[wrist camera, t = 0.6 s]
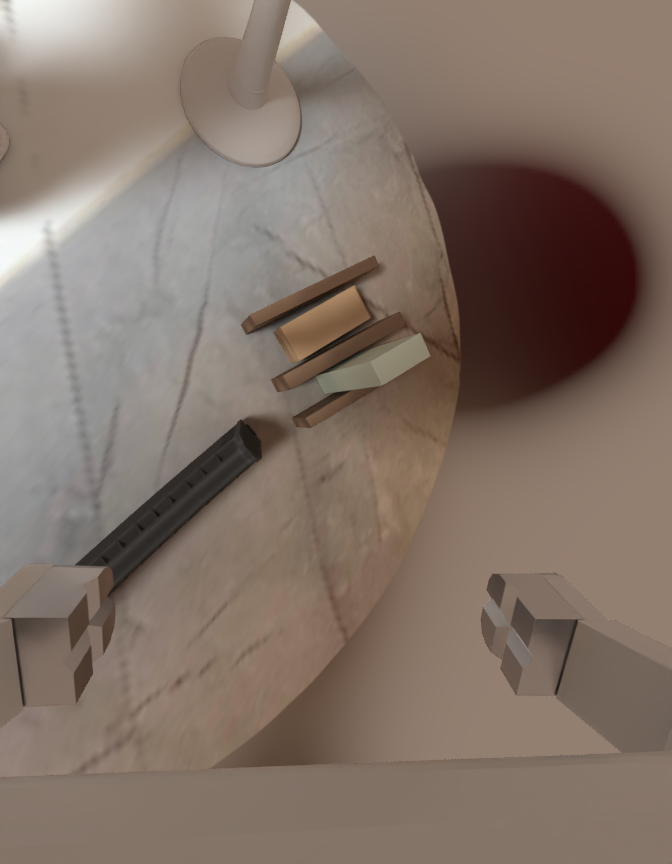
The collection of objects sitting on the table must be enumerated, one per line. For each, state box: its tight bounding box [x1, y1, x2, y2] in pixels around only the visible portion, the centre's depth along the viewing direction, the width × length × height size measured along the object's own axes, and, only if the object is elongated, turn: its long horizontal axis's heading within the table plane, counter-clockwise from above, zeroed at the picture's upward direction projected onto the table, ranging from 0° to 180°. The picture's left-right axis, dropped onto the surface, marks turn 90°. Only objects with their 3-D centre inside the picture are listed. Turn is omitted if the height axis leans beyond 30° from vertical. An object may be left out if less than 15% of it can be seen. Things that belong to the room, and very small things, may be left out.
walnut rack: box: [241, 256, 406, 428], centre depth 49 cm, size 13×16×5 cm
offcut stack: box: [274, 286, 371, 363], centre depth 49 cm, size 4×11×4 cm, turn 122°
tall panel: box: [316, 333, 430, 394], centre depth 45 cm, size 2×6×14 cm, turn 120°
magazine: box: [76, 420, 262, 596], centre depth 39 cm, size 17×3×30 cm
